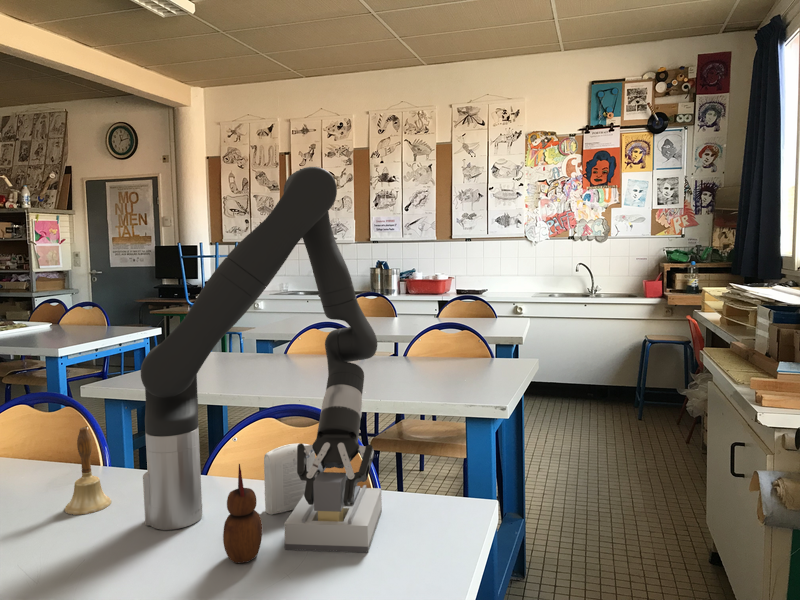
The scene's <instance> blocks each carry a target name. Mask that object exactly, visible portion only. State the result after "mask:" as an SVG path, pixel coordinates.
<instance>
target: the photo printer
mask: <svg viewBox="0 0 800 600" xmlns="http://www.w3.org/2000/svg"><path fill="white" fill-rule="evenodd" d="M299 444H301V442H300V443H289V444H285V445H281V446H279V447H276V448H273V449H272V450H270V451H268V452H266V453H265V454H264V457H263V464H264V465H263V473H264V474H263V475H264V476H263V477H264V507H265V509H264V510H265V512H266V514H268V515H275V514H276V515H277V514H281V513H285V512H289V511H293V510H294V509H295V507H296V506H297V504H298V503H299V501H300V500H301V498H302V497H303V495H304V492H305V487H306V481H302V480H301V479H300V477H299V475H298V473H297V446H298V445H299ZM302 444H303V445H304V446H307V445H309V444H307V443H302ZM315 458H316V454H315V453H314V452H312V453H311V454H310V457H309V458H307V471H308V472H309V470H310V469H311V467H312V465H313V462H314V460H315Z"/></svg>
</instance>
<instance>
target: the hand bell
mask: <svg viewBox="0 0 800 600" xmlns="http://www.w3.org/2000/svg"><path fill="white" fill-rule="evenodd" d="M78 432H79V433H78V435H77V440H76V446H77V451H78V455H79V456H80V461H81V477H79V478H77V479H76V480H75V482H74V486H73V493H72V497H71V499H70V501H69V502H68V503H67V504H66V505H65V508H64V512H65V513H66V514H68V515H72V514H73V516H74V515H75V516H77V515H78V516H79V515H82V514H83V515H88V514H89V513H90V514H93V513H97V512H100V511H102V510H104V509H107V507H110V505H111V504H112V499H111V498H110V497H109V496H107V495H106V494H105V492H104V491H103V488H102V485H101V479H100V478H99V476H95V475H93V473H92V466H91V455H92V450H93V441H92V437H91V436H92V435H91V434H90V432H89V430H88V427H86V426H85V427H80V428H79V431H78Z"/></svg>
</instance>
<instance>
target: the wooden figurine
mask: <svg viewBox="0 0 800 600" xmlns="http://www.w3.org/2000/svg"><path fill="white" fill-rule="evenodd" d="M237 473H238V482H237V488H235V489H233V490H231V491H230V492H229V493H228V496H227V500H226V508H227V511H228V514H229V515H228V516H227V517H226V519H225V521H224V525H223V534H222V541H223V542H222V543H223V548H224V551H225V553H226V556H227V557H228V559H229V560H230V561H232V562H233V563H236V564H243V563H244V564H245V563H248V562H250V561H252V560H253V559H255V558H256V557H257V556H258V554H259V551H260V548H261V545H262V540H263V539H262V538H263V523H262V522H263V521H262V517H261V515H260V514H259V512H257V511H256V510H255V509H256V507H257V496H256V495H257V494H256V493H255V491H254V490H253V489H252V488H250V487H244V483H243V476H242V474H243V473H242V468H241V463H238V472H237Z"/></svg>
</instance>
